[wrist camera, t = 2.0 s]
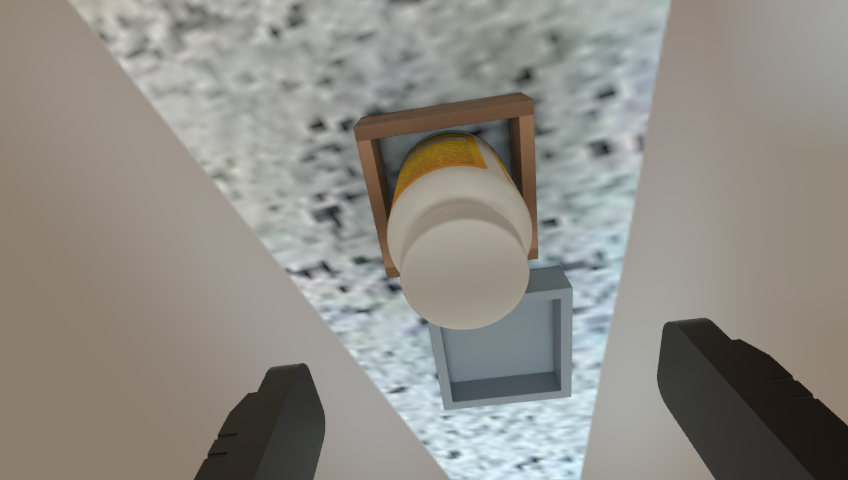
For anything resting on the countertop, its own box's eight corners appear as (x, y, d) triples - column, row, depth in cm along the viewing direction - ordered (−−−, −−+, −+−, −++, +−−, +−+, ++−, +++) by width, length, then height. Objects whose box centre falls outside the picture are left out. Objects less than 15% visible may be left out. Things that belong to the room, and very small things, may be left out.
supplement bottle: (523, 163, 21) (593, 254, 12) (464, 244, 23) (488, 371, 14) (432, 106, 19) (437, 162, 11) (379, 197, 21) (348, 304, 13)
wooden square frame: (361, 117, 20) (353, 127, 17) (520, 92, 19) (533, 99, 17) (391, 254, 23) (387, 278, 21) (526, 236, 22) (537, 258, 20)
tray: (425, 283, 24) (425, 305, 22) (560, 266, 23) (572, 287, 21) (442, 383, 27) (444, 410, 25) (560, 370, 27) (571, 396, 25)
